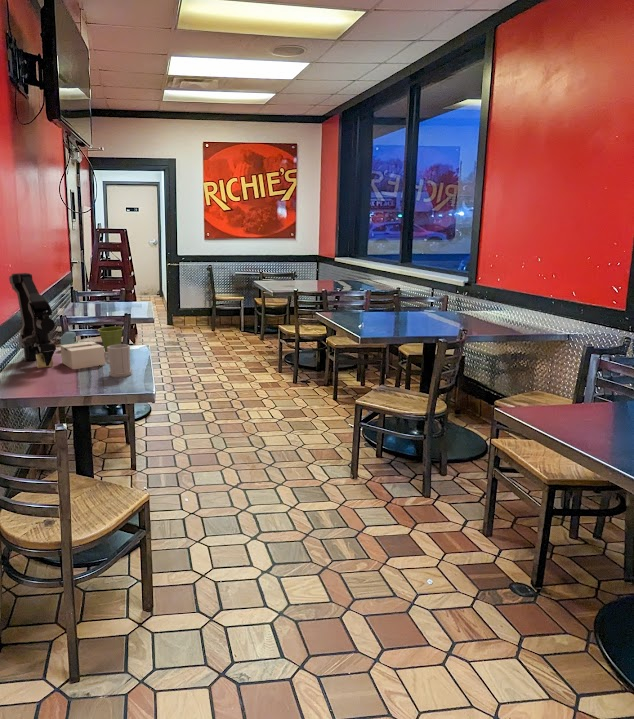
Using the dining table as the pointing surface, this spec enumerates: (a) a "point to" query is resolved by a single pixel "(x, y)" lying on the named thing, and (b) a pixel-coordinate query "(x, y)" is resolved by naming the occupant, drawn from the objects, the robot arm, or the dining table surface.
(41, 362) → the block
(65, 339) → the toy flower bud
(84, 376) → the dining table surface
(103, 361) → the box
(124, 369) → the cup
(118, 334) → the plant pot
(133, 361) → the dining table surface
